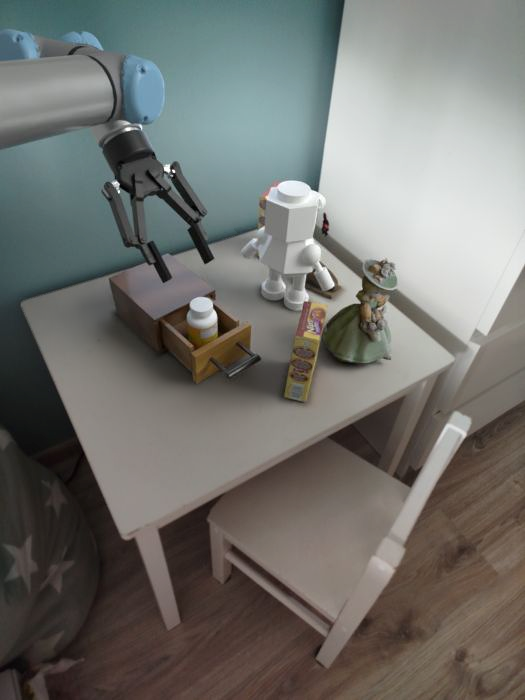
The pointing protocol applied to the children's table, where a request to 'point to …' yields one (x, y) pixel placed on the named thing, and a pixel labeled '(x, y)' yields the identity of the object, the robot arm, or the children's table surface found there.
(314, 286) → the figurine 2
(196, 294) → the cabinet
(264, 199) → the candy box
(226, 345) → the drawer
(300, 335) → the candy box
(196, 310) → the supplement bottle
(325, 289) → the robot toy
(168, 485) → the children's table surface
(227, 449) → the children's table surface
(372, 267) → the figurine
